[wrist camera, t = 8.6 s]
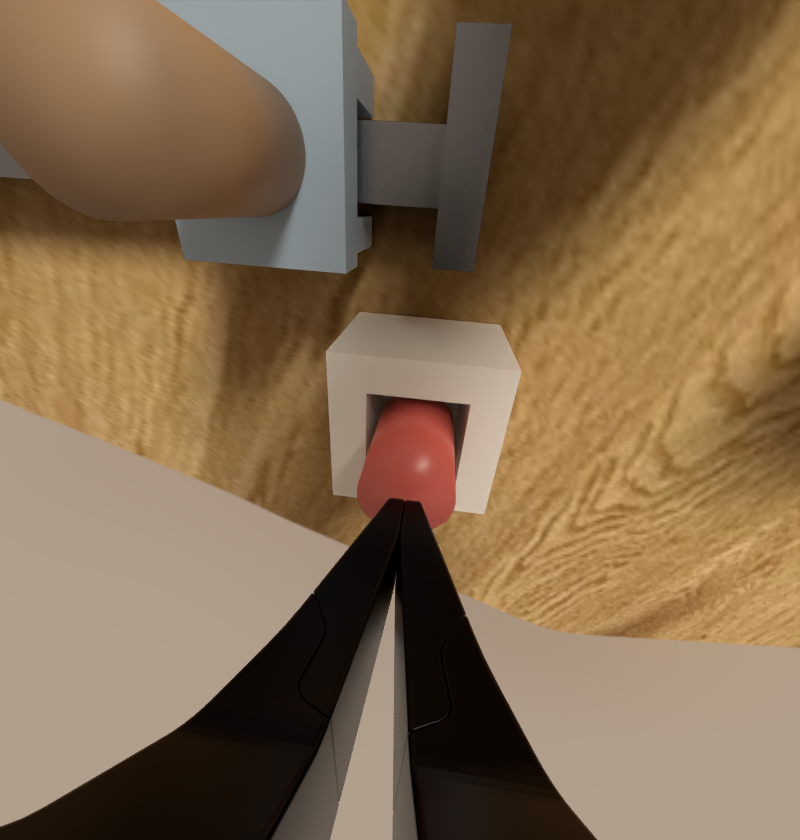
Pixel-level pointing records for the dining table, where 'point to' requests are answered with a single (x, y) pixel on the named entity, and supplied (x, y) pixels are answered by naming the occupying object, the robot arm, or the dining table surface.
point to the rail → (431, 149)
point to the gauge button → (411, 459)
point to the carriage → (195, 120)
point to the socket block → (422, 392)
